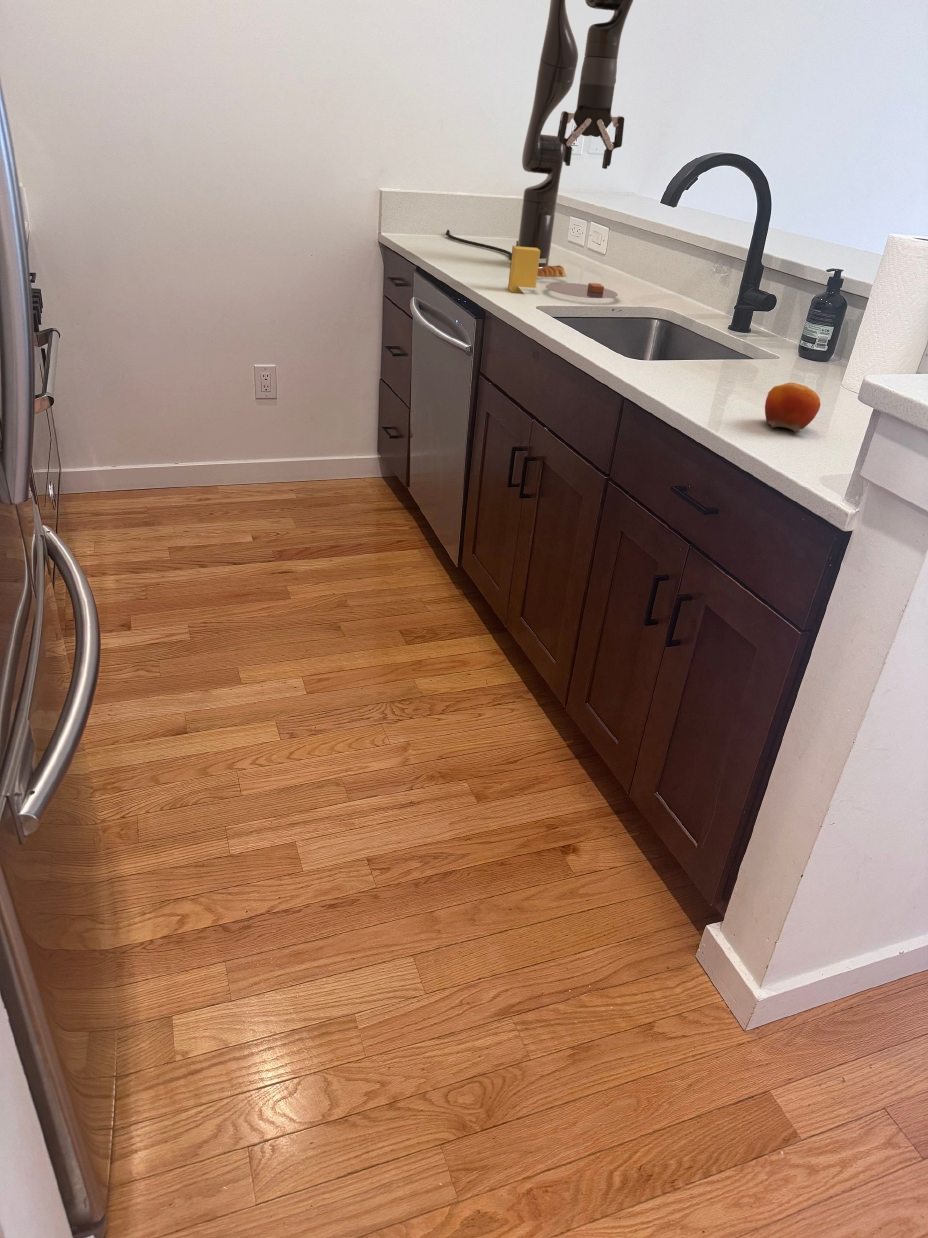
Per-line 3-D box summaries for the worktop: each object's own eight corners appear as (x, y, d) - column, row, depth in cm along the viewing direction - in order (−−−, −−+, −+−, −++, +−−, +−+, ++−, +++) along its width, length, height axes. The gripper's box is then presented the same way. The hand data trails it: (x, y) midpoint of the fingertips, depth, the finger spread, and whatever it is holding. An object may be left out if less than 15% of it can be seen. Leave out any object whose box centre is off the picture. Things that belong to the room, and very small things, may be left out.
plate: (538, 286, 225) (539, 280, 224) (605, 291, 227) (606, 285, 227) (553, 301, 209) (554, 294, 209) (625, 306, 212) (626, 300, 211)
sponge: (507, 288, 218) (512, 245, 213) (531, 290, 219) (536, 247, 214) (511, 292, 215) (516, 248, 209) (534, 293, 215) (540, 250, 210)
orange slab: (587, 288, 220) (588, 282, 219) (599, 289, 220) (600, 283, 219) (591, 292, 216) (592, 285, 216) (603, 292, 217) (604, 286, 216)
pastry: (542, 283, 229) (544, 268, 227) (525, 278, 233) (526, 263, 231) (567, 282, 234) (570, 267, 232) (550, 277, 238) (552, 262, 237)
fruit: (759, 422, 133) (773, 372, 133) (755, 436, 141) (769, 388, 141) (814, 433, 131) (828, 381, 131) (807, 446, 139) (821, 397, 139)
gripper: (625, 85, 193) (612, 167, 201) (561, 79, 191) (551, 162, 199) (633, 85, 186) (620, 171, 195) (568, 79, 185) (557, 165, 193)
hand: (585, 166), depth 197 cm, fingers open, 8 cm apart
